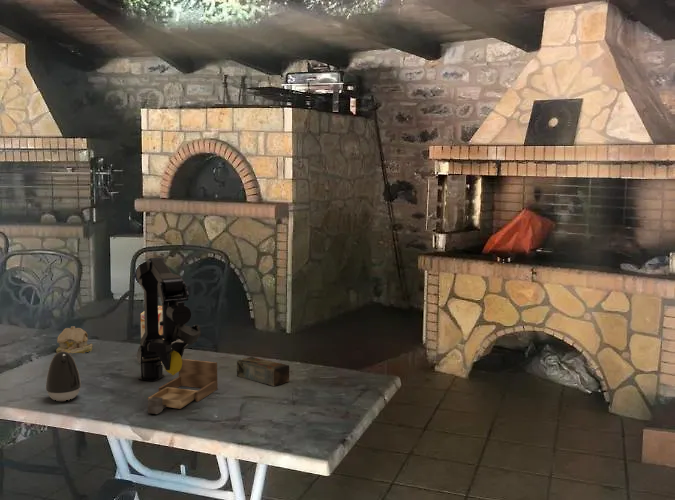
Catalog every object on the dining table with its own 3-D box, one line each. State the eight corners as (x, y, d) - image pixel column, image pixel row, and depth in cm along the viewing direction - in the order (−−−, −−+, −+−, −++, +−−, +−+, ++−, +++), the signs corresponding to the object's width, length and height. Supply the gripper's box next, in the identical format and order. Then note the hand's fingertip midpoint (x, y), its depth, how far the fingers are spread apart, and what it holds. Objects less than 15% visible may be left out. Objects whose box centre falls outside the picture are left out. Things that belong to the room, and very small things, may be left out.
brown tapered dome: (47, 406, 204) (45, 357, 203) (45, 396, 213) (43, 349, 212) (83, 401, 209) (81, 353, 207) (79, 391, 218) (77, 345, 216)
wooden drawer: (136, 411, 200) (135, 398, 199) (166, 393, 216) (166, 381, 215) (169, 415, 196) (169, 402, 196) (198, 397, 212) (197, 385, 212)
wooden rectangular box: (252, 371, 242) (251, 354, 241) (290, 382, 230) (290, 363, 230) (236, 376, 236) (235, 358, 235) (275, 387, 224) (274, 369, 223)
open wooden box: (158, 397, 214) (157, 369, 212) (180, 384, 226) (179, 358, 225) (197, 401, 209) (197, 373, 208) (217, 389, 222) (217, 362, 221)
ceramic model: (50, 354, 262) (49, 329, 260) (62, 346, 273) (61, 322, 272) (86, 354, 262) (85, 329, 260) (97, 347, 273) (96, 323, 272)
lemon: (165, 372, 211) (165, 347, 210) (183, 372, 211) (183, 347, 210) (162, 378, 205) (162, 352, 204) (181, 378, 206) (180, 352, 205)
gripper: (179, 326, 195) (180, 379, 197) (210, 313, 212) (210, 361, 214) (145, 323, 198) (147, 375, 200) (179, 311, 216) (180, 358, 218)
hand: (173, 367), depth 208 cm, fingers closed on lemon, 5 cm apart
